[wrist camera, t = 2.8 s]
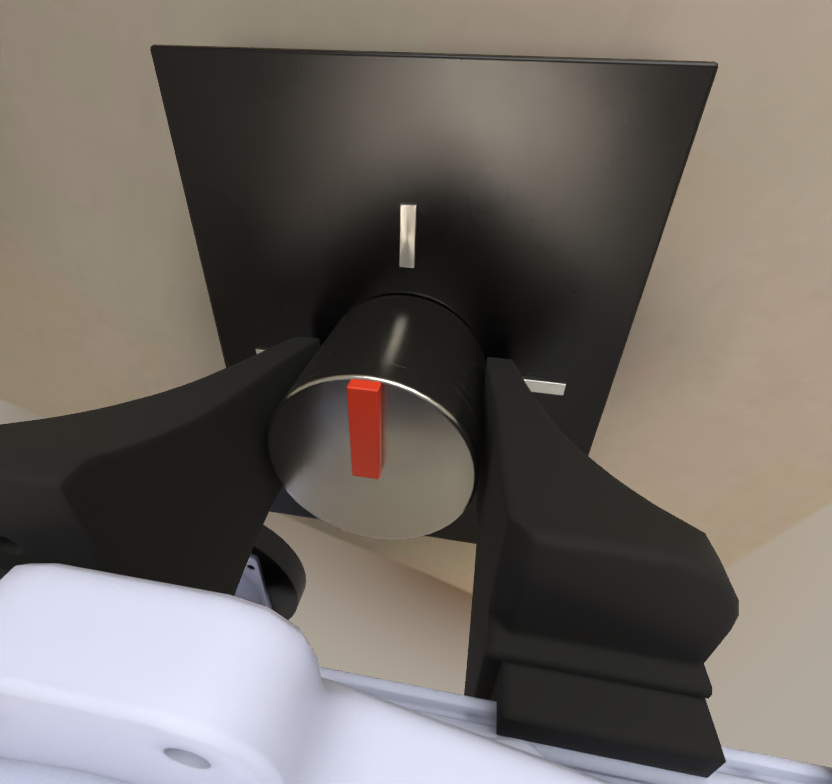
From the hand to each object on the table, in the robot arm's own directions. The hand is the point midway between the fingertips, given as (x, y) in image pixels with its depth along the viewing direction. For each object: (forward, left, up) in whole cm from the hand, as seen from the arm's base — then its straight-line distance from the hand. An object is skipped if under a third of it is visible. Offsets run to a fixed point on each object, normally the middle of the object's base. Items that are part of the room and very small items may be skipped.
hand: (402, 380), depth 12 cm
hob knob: (0, 0, -1) cm, 1 cm away
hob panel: (0, 0, -4) cm, 4 cm away
